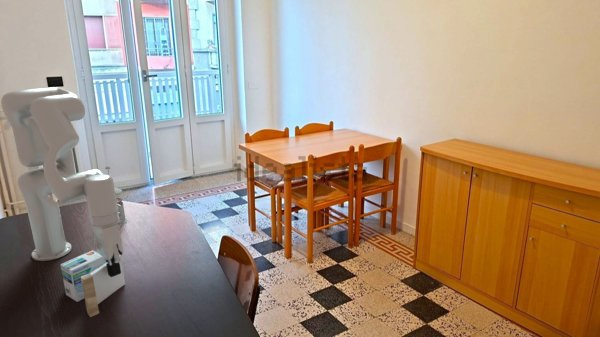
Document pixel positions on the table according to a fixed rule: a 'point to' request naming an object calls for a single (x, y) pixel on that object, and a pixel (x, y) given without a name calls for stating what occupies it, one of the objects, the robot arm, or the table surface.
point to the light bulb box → (79, 272)
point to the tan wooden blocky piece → (90, 295)
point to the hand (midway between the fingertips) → (114, 274)
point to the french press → (120, 208)
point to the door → (106, 282)
